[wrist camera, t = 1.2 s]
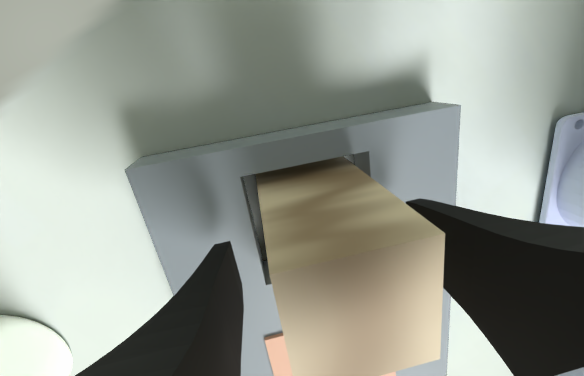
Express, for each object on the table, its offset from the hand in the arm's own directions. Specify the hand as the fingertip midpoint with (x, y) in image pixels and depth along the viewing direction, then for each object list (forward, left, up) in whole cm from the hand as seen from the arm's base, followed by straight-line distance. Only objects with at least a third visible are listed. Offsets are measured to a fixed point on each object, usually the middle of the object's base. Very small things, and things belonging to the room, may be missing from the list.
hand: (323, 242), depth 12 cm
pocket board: (0, +5, -4) cm, 6 cm away
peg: (0, 0, -4) cm, 4 cm away
